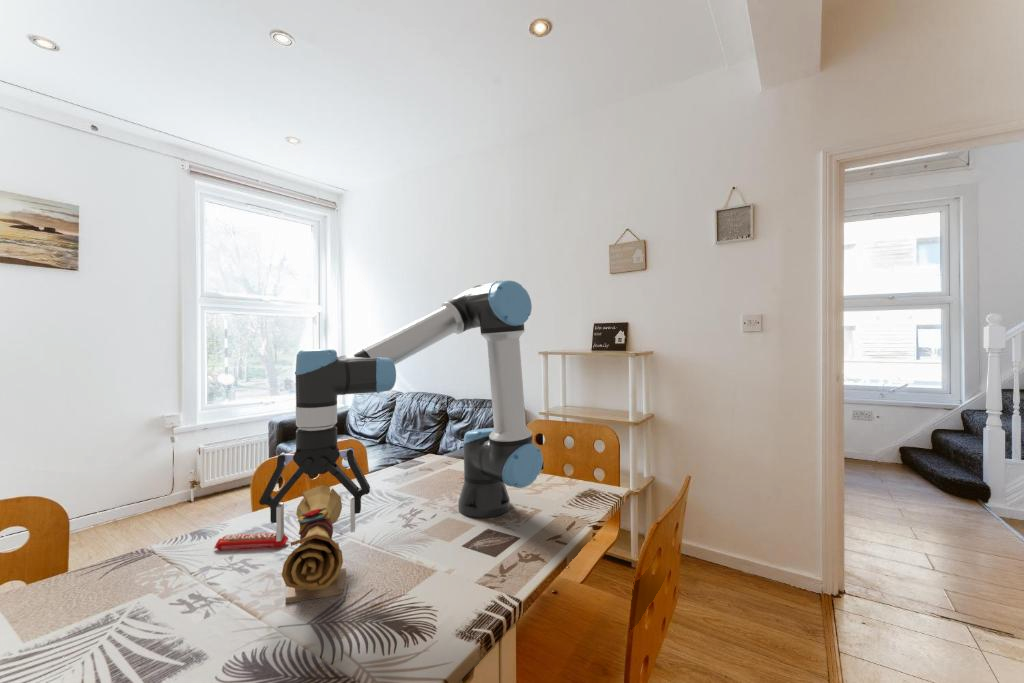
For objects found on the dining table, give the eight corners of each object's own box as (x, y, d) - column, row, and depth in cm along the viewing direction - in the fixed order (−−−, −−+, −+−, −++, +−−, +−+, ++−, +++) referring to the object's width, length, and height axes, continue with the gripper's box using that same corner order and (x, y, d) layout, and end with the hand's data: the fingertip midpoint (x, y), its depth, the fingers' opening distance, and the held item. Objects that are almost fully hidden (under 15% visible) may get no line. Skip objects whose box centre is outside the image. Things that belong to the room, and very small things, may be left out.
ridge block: (346, 572, 91) (345, 537, 91) (342, 593, 83) (342, 555, 83) (294, 580, 88) (293, 543, 88) (285, 603, 80) (285, 563, 80)
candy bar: (212, 553, 100) (212, 540, 100) (221, 546, 104) (221, 533, 104) (284, 549, 102) (283, 537, 102) (290, 542, 105) (290, 530, 105)
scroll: (343, 588, 75) (342, 532, 74) (281, 602, 71) (279, 543, 71) (342, 523, 100) (341, 480, 100) (296, 531, 96) (295, 487, 96)
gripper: (381, 419, 93) (382, 518, 93) (252, 426, 86) (252, 533, 86) (381, 426, 86) (382, 533, 86) (240, 434, 78) (240, 551, 78)
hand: (317, 533), depth 86 cm, fingers open, 13 cm apart
